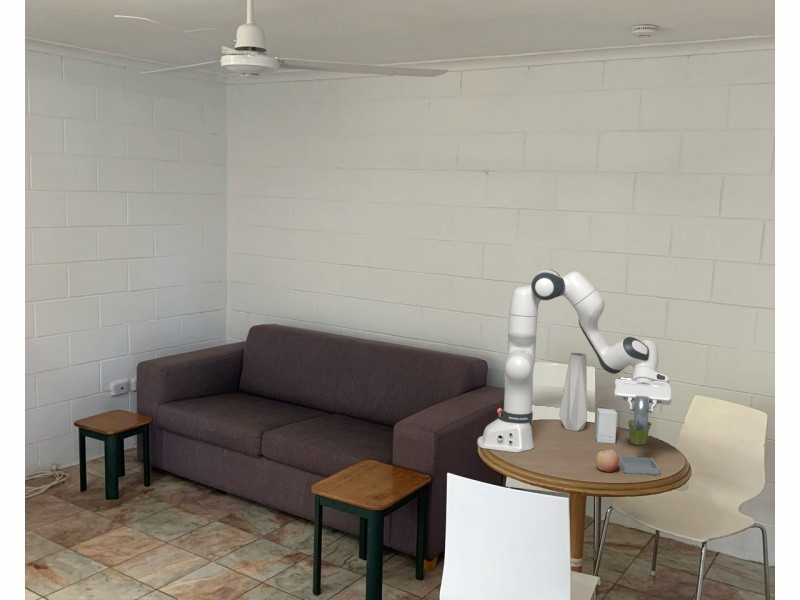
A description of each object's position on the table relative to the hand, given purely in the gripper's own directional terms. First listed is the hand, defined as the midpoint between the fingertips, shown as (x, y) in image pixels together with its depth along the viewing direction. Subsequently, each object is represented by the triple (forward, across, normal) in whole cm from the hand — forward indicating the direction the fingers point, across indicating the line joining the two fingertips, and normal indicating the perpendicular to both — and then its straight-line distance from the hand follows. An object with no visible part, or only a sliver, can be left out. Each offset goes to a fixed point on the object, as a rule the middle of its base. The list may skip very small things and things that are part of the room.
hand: (641, 411), depth 275 cm
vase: (-15, -29, +46) cm, 56 cm away
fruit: (+21, -10, +10) cm, 25 cm away
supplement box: (-7, -15, +38) cm, 41 cm away
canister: (+4, 0, +5) cm, 7 cm away
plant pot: (-8, -2, +39) cm, 40 cm away
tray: (+15, 0, +16) cm, 22 cm away
